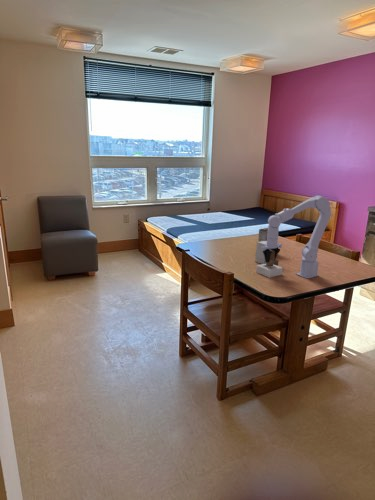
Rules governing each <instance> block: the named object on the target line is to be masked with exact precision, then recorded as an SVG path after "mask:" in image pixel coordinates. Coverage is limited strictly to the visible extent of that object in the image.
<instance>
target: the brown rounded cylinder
mask: <svg viewBox="0 0 375 500" xmlns="http://www.w3.org/2000/svg"><path fill="white" fill-rule="evenodd" d="M270 251H272V253H271V256H270V261H269V263H268V262H266V265H267V266H273V265H274V257H275V251H273V250H270Z"/></svg>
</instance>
